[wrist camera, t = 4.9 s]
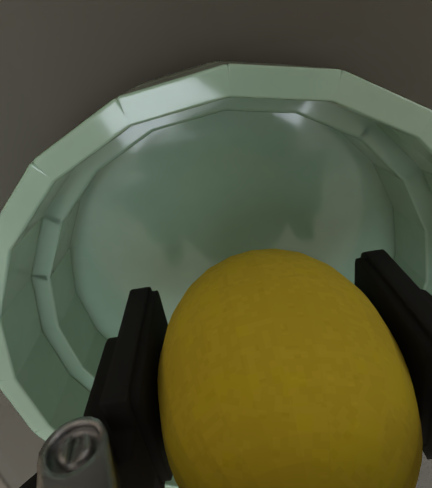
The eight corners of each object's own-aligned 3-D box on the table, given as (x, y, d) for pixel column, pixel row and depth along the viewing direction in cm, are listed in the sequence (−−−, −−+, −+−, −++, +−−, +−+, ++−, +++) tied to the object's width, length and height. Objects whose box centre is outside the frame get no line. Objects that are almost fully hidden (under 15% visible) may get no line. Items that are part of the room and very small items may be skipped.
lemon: (134, 261, 12) (44, 578, 5) (290, 168, 11) (473, 408, 4) (225, 366, 14) (254, 685, 7) (361, 299, 13) (559, 602, 6)
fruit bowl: (89, -23, 10) (21, -76, 6) (500, 157, 13) (639, 203, 9) (16, 358, 16) (-45, 463, 12) (313, 424, 19) (346, 524, 15)
